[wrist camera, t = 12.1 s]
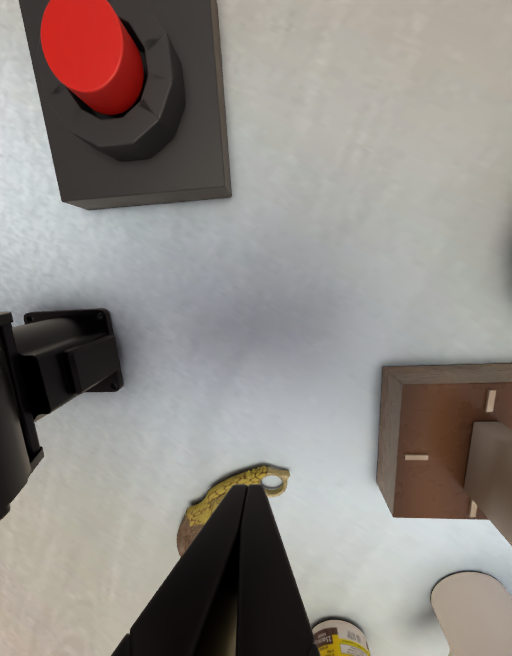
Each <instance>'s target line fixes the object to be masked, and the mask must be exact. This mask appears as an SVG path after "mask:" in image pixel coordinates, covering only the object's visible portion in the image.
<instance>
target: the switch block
mask: <svg viewBox="0 0 512 656" xmlns="http://www.w3.org/2000/svg"><path fill="white" fill-rule="evenodd" d="M107 1H108V2H109V4H110V5H111V6H112V8H113V9H114V11H115V12H116V14H117V16H118V17H119V19H120V20H121V22H122V24H123V25H124V27H125V28H126V30H127V32H128V33H129V35H130V36H131V38H132V40H133V41H134V43H135V45H136V46H137V48H138V50H139V53H140V55H141V59H142V63H143V71H144V79H143V86H142V90H141V92H140V95H139V97H138V99H137V100H136V102H135V103H134V104H133V106H132V107H131V108H129V109H128V110H127V111H125V112H123V113H121V114H117V115H105V114H101V113H99V112H97V111H95V110H93V109H92V108H90V107H89V106H88V105H87V104H86V103H84V102H83V101H82V100H81V99H80V98H79V97H78V96H76V95H75V94H74V93H73V92H72V91H71V90H70V89H68V88H67V87H66V86H65V85H64V84H63V83H62V82H60V80H59V79H58V78H57V77H56V76H55V75H54V73H53V72H52V70H51V69H50V67H49V65H48V63H47V61H46V58H45V56H44V53H43V49H42V44H41V23H42V18H43V14H44V11H45V9H46V7H47V5H48V3H49V2H50V0H19V4H20V8H21V13H22V18H23V22H24V27H25V32H26V36H27V41H28V46H29V50H30V55H31V60H32V65H33V69H34V74H35V79H36V83H37V88H38V93H39V97H40V102H41V107H42V111H43V116H44V121H45V125H46V130H47V135H48V139H49V144H50V149H51V153H52V158H53V163H54V167H55V172H56V177H57V181H58V186H59V191H60V195H61V200H62V202H65V203H68V204H71V205H74V206H78V207H81V208H84V209H87V210H92V209H103V208H114V207H125V206H137V205H148V204H159V203H170V202H181V201H193V200H204V199H215V198H226V197H231V196H232V194H231V181H230V168H229V155H228V141H227V128H226V115H225V102H224V88H223V75H222V62H221V49H220V35H219V22H218V9H217V1H216V0H107Z"/></svg>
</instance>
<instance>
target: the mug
mask: <svg viewBox="0 0 512 656" xmlns="http://www.w3.org/2000/svg"><path fill="white" fill-rule="evenodd" d="M431 603H432V607H433V609H434V612H435V614H436V616H437V618H438V621H439V623H440V625H441V627H442V630H443V632H444V634H445V637H446V639H447V641H448V644H449V647H450V653H449V655H448V656H512V597H511V596H510V595H509V593H508V592H507V590H506V589H505V588H504V587H503V585H502V584H501V583H500V582H499V581H497V580H496V579H494V578H493V577H491V576H489V575H486V574H483V573H477V572H462V573H457V574H454V575H451V576H448V577H446V578H445V579H443V580H442V581H440V582H439V583H438V584H437V585H436V586H435V588H434V590H433V592H432V595H431Z"/></svg>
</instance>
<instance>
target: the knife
mask: <svg viewBox="0 0 512 656" xmlns="http://www.w3.org/2000/svg"><path fill="white" fill-rule="evenodd" d="M270 475H274V476H277V477H279V478H281V479H282V481H283V484H282V485H281V487H279V488H278V489H275V490H268V489H266V488H264V489H265V492H266V495H267V496H268V497H275V496H278V495H280V494H282V493H283V492H284V491H285V490H286V487H287V479H288V478H289V476H290V473H289V471H285V470H278V469H274V468H270V467H268V468H267V466H262V467H261V468H259V467H257V469H255V468H253V469H252V471H250V470H248V472H244V473H240V474H238V475H235V476H233V477H231V478H229V479H227V480H225V481H223V482H221V483H219V484H218V485H216V486H214V487H213V488H211V489H210V490H209V491H208V494H207V496H206V497H205V498H204V500H203V501H202V502H200V503H199V504H197V505H194V506H190V507H189V508H188V509H187V511H186V515H185V518H184V520H183V521H182V523H181V525H180V527H179V530H178V534H177V547H178V551H179V554H180V556H181V557H182V555H183V554H184V553H185V551H186V550H187V548H188V547H189V546H190V544H191V543H192V541H193V540H194V539H195V537H196V536H197V534H198V533H199V532H200V530H201V529H202V527H203V526H204V524H205V523H206V522H207V520H208V519H209V517H210V516H211V515H212V513H213V512H214V510H215V509H216V508H217V506H218V505H219V503H220V502H221V501H222V499H223V498H224V496H225V495H226V494H227V492H228V491H229V489H230V488H231V487H232V486H233V485H234V484H246V485H248V486H249V485H250V484H260V482H261V480H262V479H263V478H264V477H266V476H270Z"/></svg>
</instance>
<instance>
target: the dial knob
mask: <svg viewBox="0 0 512 656" xmlns="http://www.w3.org/2000/svg"><path fill="white" fill-rule="evenodd" d="M464 491H465V492H466V493H467V494H468V495H469V496H470V498H471V499H472V500H473V501H474V502H475V503H476V505H477V506H478V507H479V508H480V509H481V511H482V512H483V513H484V514H485V515H486V516H487V518H488V519H489V520H490V521H491V522H492V523H493V525H494V526H495V527H496V528H497V529H498V530H499V532H500V533H501V534H502V535H503V536H504V537H505V539H506V540H507V541H508V542H509V543H510V544H511V546H512V430H511V429H510V428H508V427H507V426H506V425H504V424H503V423H501V422H474V424H473V431H472V438H471V444H470V451H469V457H468V464H467V470H466V477H465V483H464Z"/></svg>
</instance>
